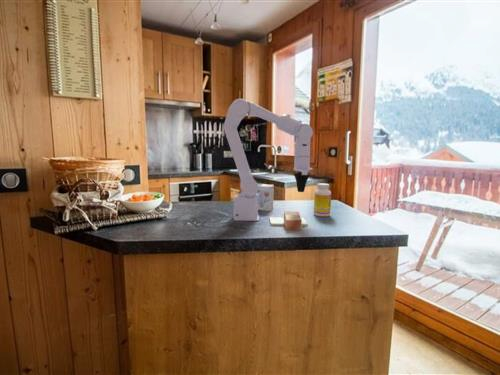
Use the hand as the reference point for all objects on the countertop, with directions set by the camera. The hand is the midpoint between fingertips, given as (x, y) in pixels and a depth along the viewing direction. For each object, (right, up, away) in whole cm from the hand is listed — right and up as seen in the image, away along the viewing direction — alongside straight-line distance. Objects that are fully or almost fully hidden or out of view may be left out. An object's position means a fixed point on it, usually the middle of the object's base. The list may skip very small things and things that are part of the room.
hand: (300, 191), depth 113 cm
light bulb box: (-15, -8, +18) cm, 24 cm away
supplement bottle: (+10, -10, +8) cm, 16 cm away
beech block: (-5, -9, -8) cm, 12 cm away
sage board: (-6, -11, -5) cm, 14 cm away
